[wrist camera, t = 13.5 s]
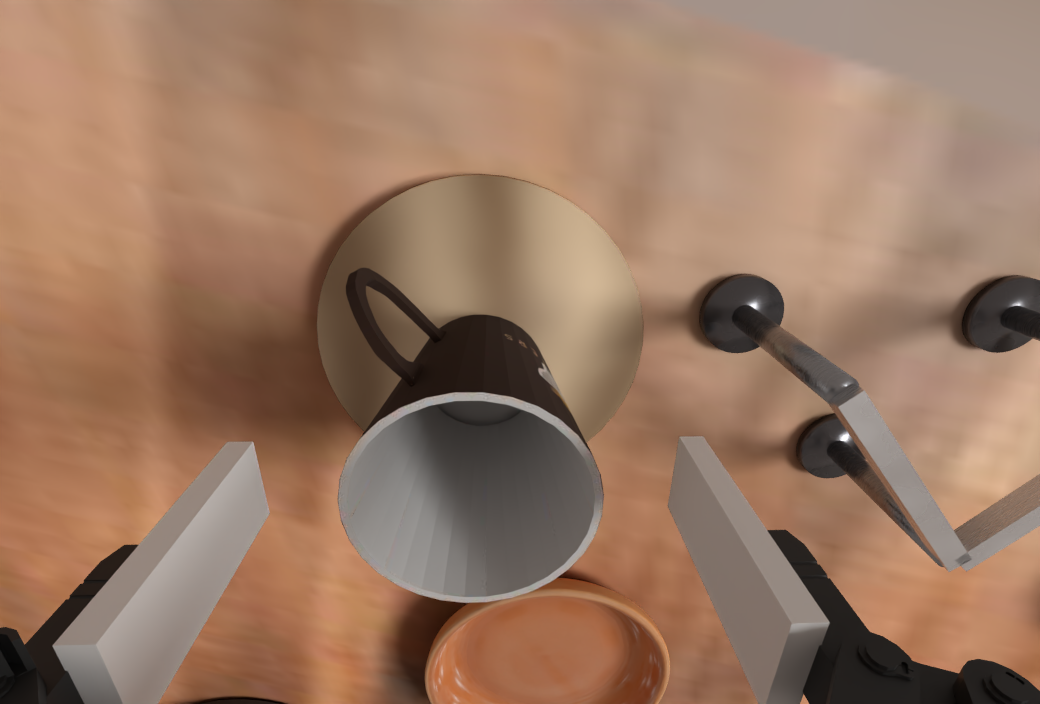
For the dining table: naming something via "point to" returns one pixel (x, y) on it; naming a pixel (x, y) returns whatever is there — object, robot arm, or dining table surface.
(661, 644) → the saucer
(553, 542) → the coffee mug
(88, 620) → the robot arm
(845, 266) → the dining table surface
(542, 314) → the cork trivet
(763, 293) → the bent wire
